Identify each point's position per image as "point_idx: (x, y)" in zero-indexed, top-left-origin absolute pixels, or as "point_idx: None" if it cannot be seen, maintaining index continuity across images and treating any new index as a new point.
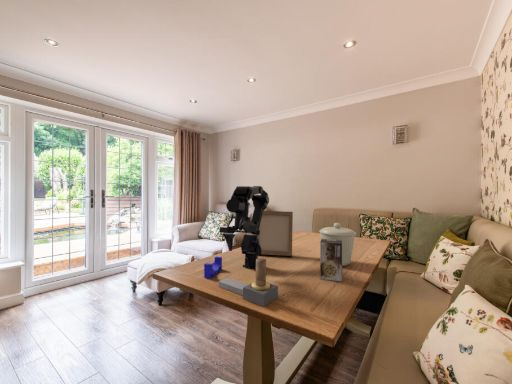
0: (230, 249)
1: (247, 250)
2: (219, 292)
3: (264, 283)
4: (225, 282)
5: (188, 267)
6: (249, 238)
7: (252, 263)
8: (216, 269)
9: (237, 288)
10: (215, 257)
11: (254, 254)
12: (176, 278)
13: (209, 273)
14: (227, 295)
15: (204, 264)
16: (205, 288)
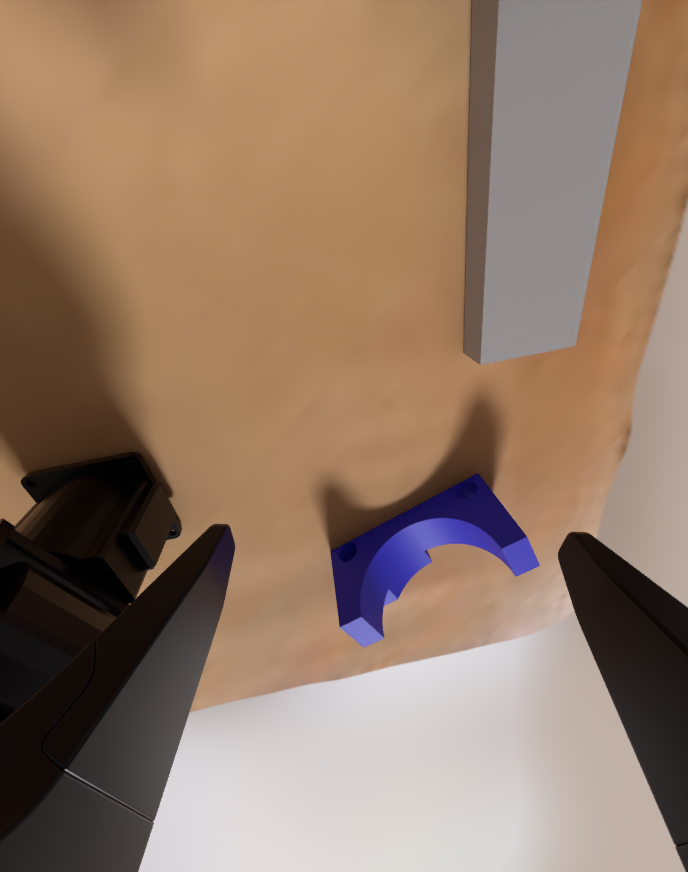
0: (604, 555)
1: (225, 525)
2: (626, 245)
3: None
4: (566, 293)
5: (441, 632)
6: (63, 824)
7: (109, 495)
8: (396, 540)
9: (624, 84)
10: (381, 635)
11: (39, 553)
12: None
13: (495, 497)
14: (648, 144)
15: (537, 562)
16: (611, 366)
